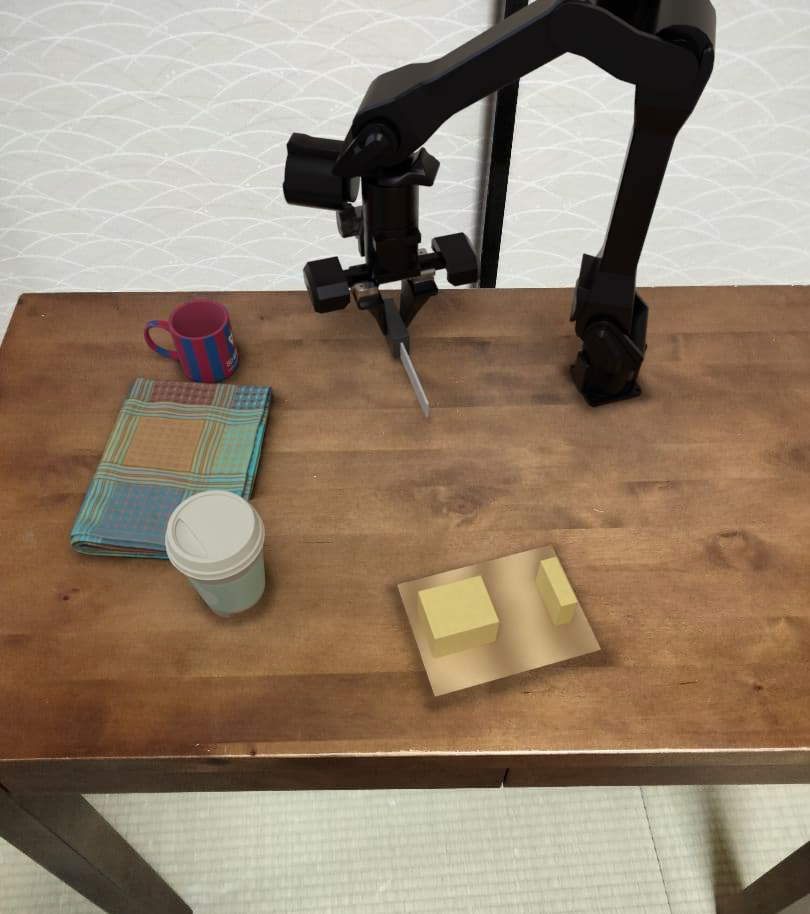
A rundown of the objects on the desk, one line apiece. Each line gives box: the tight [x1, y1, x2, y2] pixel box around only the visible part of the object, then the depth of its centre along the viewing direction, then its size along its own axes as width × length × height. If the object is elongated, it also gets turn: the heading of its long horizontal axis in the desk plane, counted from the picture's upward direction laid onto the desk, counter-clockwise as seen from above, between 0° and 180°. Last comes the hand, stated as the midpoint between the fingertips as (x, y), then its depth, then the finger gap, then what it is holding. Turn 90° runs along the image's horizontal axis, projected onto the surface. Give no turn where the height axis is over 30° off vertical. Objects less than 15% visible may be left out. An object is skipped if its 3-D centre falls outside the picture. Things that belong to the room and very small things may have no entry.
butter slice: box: [535, 556, 579, 627], centre depth 75 cm, size 2×5×4 cm, turn 16°
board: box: [396, 544, 602, 697], centre depth 77 cm, size 16×12×2 cm
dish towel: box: [69, 377, 274, 560], centre depth 87 cm, size 17×23×2 cm
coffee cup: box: [165, 490, 266, 619], centre depth 74 cm, size 8×8×12 cm
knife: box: [383, 296, 430, 419], centre depth 93 cm, size 2×17×3 cm, turn 17°
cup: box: [143, 298, 240, 384], centre depth 94 cm, size 7×10×7 cm
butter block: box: [418, 575, 499, 658], centre depth 74 cm, size 6×5×4 cm
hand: (393, 330), depth 96 cm, fingers closed on knife, 2 cm apart
